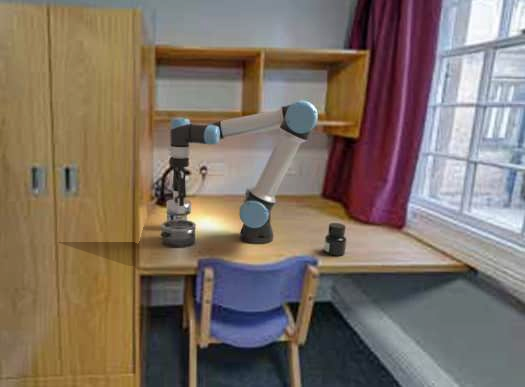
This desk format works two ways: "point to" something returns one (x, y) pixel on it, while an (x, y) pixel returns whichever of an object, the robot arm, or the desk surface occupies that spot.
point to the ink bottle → (335, 240)
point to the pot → (178, 233)
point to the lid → (173, 206)
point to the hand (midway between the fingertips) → (178, 209)
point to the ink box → (176, 217)
